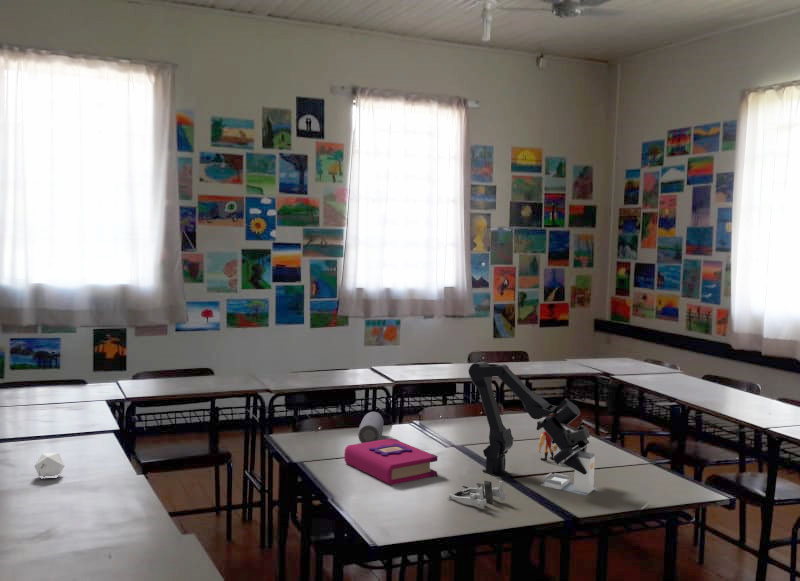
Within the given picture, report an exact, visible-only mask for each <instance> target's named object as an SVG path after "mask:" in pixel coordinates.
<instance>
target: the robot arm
mask: <svg viewBox="0 0 800 581" xmlns="http://www.w3.org/2000/svg"><path fill="white" fill-rule="evenodd" d="M468 375H469V377H470V380H471V382H472V383H473V385H474V386H476V388H477V391H478V392H479V396H480V399H481V402H482V407H483V409H484V410H483V411H484V413H485V417H486V420H487V423H488V428H489V432H488V433H489V434H488V435H489V436H488V439H489V440H488V442H489V445H488V446H487V447H485V449H483V451H482V452H483V456H484V457H485V459H486V461H485V468H484V469H482V472H483V473H486V474H490V475H492V476H496V477H497V476H501V475H505V474H508V473H509V472H508V470H506V454H508V452H509V450H510V449H511V448H512V446H513V445H514V439H515V438H514V437H513V434H512V429H511V428H510V427H508V428H506V427H505V425H504V423H503V420H502V417H501V414H500V413H501V412H500V410H499V407H498V406H499V405H498V402H497V401H496V400H497V399H496V396H495V393H494V390H493V389H494V388H493V386H492V382H493V377H495V378H496V377H498V378H499V379H500V380H501V381H502V382H503V383H504V384H505V385H506V386H507V387H508V388H509V389H510V390H511V392H512V393H513V394H514V395H515V396H516V397H517V398H518V399H519V400H520V401H521V402H522V405H523V407H524V409H525V411H526V412H527V414H528V415H529V417H530V418H532V419H533V420H539V421H537V422H536V423H537V424H536V431H539V430H542V429H543V430H544V432H545V431H546V432H547V434H548V435H549V436H550V437H551V439H552V441H551V445H557V449H559V452H557V453H556V454H554V455H553V458H554V460H553V461H554V463H555V464H556V465H558V466H559V464H561V463H562V465H565V466H566V467H569V468H571V469H573V470H574V471H575V470H577V471H579V472H581V473H582V474H584V475H585V474H586V473H587V471H586V470H585V468H584V466H583V465H582V463H581V461H580V460H579V458H578V452H580V451H582V452H587V448H588V445H589V444H590V441H589V440H588V439H589V438H591V436H590V429H588V427H586V426H585V425H583V424H581V425H580V426H578V427H577V430H575V431H572V430H571V429H569V428H567V429H566V427H565V426H564V425H566V426H568V425H569V424H570V423H572V422H573V421H574V420H576V419H577V417H579V416H581V410H580V409H579V407H578V405H576V404H574V403H573V402H572V401H570V400H569V399H568V398H565V399H563V400H562V401H561V403H559V404H558V405H552V404H551V403H549V402H548V401H547V400H546V399H544V398H543V397H542V396H540V395H537V394H536V393H534V392H533V391H531V389H529V387H527V386H526V384H525V383H524V382H523V381H522V380H521V379H520V378H519V377H518V376H517V375H516V374H515V373H514V372H513V371H512V370H511V369H510V368H509V366H508V365H507V364H504V363H503V364H496V363H488V362H487V361H478V362H475V363H472V364H471V365H469V368H468ZM551 415H552V416H551ZM543 418H544V419H543ZM541 419H543V420H541Z"/></svg>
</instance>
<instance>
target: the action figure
mask: <svg viewBox="0 0 800 581" xmlns="http://www.w3.org/2000/svg"><path fill="white" fill-rule="evenodd" d="M539 437H540V438H539V443H538V449H537V451H538V453H539V454H542V451H541V449H542V447H543V446H544V444H545V448H544V457H540V461H548V455H549V452H550V455H551V456H550V457H549V459H551V460H552V461H554V456H555V454H554V452H557V450H558V446H557V445H556V444H552V442H551V441H553V440H552V439H551V437H550V436H549V435H548V434H547V432H546V431H545V430H544V431H543V432H542V433H541V435H540V436H539Z"/></svg>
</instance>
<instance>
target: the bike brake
mask: <svg viewBox="0 0 800 581" xmlns="http://www.w3.org/2000/svg"><path fill="white" fill-rule="evenodd" d="M503 482H504V481H503V480H500V481H499V482H498V483H499V486H496V487H494V486H492V485H493V484H492V481H489V480H484V483H480V482H476V487H468V486H465V485H462V488H464V489H462V490H461V491H457V492H456V493H454V494H453V493H449V494H448V497H447V499H449V500H451V501H452V500H454V501H460V502H467V503H468V502H469V503H475V504H478V505H479V507H480V508H485V507H486V504H487V503H488V504H492V505H493V503H494V497H498V498H499V500H500V501H505V499H506V495H507V494H506V491H504V484H503ZM467 494H469V496H462V495H467Z"/></svg>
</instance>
